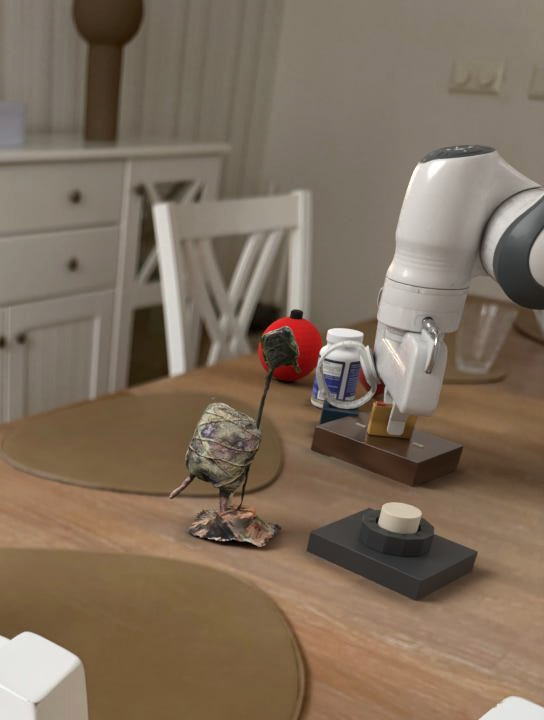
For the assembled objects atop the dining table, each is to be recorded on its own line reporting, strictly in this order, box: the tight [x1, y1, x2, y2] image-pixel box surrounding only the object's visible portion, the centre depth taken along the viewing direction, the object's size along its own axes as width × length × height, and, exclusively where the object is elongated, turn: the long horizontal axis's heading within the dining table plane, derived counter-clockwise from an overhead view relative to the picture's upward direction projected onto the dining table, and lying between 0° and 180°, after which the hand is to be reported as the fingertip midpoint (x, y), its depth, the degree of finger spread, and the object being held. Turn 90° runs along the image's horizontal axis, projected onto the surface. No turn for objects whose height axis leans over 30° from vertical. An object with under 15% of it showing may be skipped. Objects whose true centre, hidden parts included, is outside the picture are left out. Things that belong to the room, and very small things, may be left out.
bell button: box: [378, 501, 423, 534], centre depth 91 cm, size 4×4×2 cm
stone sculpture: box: [168, 326, 301, 548], centre depth 92 cm, size 8×11×20 cm
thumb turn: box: [367, 400, 418, 439], centre depth 115 cm, size 5×1×4 cm, turn 82°
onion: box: [358, 348, 385, 398], centre depth 137 cm, size 6×6×8 cm
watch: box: [315, 340, 381, 425], centre depth 123 cm, size 6×8×11 cm
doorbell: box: [306, 507, 479, 602], centre depth 92 cm, size 12×10×4 cm
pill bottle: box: [310, 327, 365, 410], centre depth 132 cm, size 6×6×10 cm
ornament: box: [258, 308, 323, 382], centre depth 141 cm, size 9×9×10 cm
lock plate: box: [310, 411, 464, 488], centre depth 117 cm, size 14×10×3 cm
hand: (391, 428), depth 115 cm, fingers closed
